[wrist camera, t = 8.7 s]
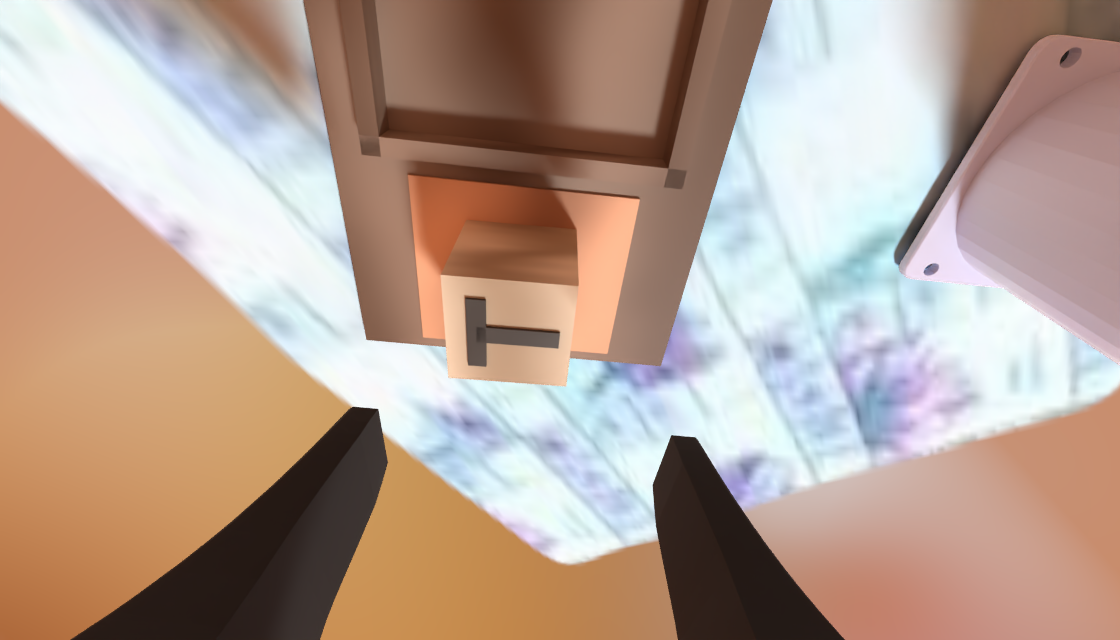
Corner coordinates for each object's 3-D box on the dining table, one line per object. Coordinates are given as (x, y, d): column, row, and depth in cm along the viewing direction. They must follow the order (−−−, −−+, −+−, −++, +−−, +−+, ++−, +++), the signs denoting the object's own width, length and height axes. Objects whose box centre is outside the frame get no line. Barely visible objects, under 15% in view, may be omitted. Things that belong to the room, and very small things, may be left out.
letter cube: (577, 229, 16) (578, 288, 13) (566, 319, 19) (566, 388, 15) (466, 219, 16) (439, 276, 13) (469, 311, 19) (447, 379, 15)
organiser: (1071, -1022, 6) (1194, -1271, 5) (658, 358, 21) (664, 381, 19) (90, -1256, 6) (-42, -1602, 4) (370, 332, 20) (357, 354, 19)
